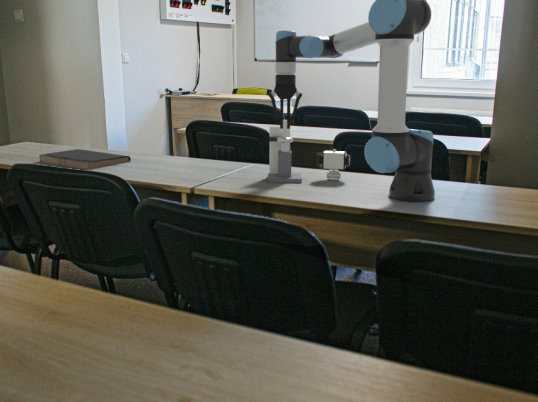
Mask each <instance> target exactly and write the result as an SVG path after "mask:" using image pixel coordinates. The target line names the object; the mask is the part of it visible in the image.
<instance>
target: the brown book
mask: <svg viewBox="0 0 538 402" xmlns="http://www.w3.org/2000/svg"><path fill="white" fill-rule="evenodd" d="M38 156H39V162H40V163H43V164H44V163H45V164H49V165H56V166H57V165H58V166H64V167H69V168H76V169H77V168H78V169H83V170H87V171H89V170H96V169H101V168H106V167H110V166H115V165H120V164H125V163H131V159H132V158H131V157H130V155H124V154H116V153H108V152H102V151H101V152H100V151H96V150H94V151H93V150H87V149H80V148H78V149H69V150H62V151H56V152H55V151H54V152H49V153H48V152H47V153H42V154H39V155H38Z"/></svg>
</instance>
